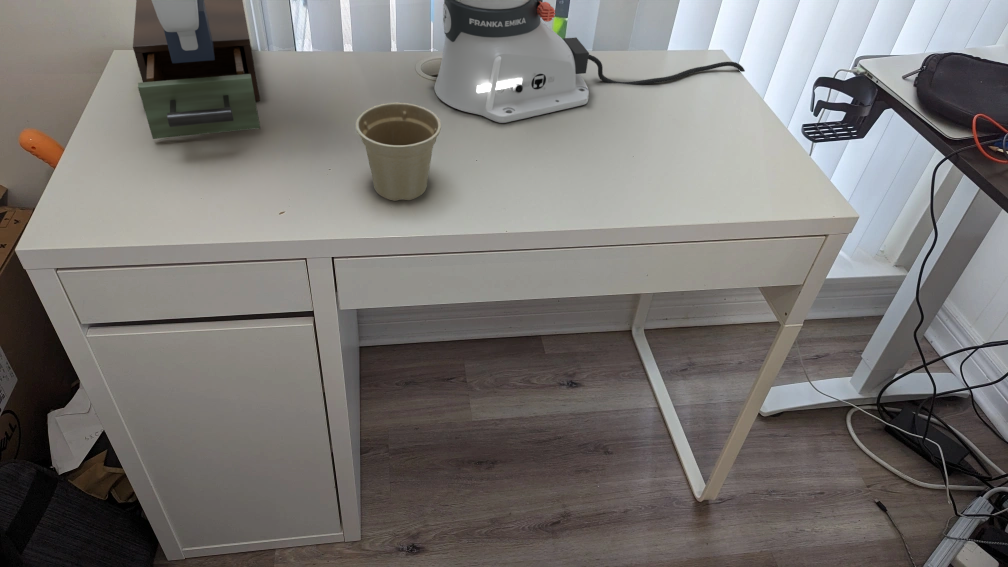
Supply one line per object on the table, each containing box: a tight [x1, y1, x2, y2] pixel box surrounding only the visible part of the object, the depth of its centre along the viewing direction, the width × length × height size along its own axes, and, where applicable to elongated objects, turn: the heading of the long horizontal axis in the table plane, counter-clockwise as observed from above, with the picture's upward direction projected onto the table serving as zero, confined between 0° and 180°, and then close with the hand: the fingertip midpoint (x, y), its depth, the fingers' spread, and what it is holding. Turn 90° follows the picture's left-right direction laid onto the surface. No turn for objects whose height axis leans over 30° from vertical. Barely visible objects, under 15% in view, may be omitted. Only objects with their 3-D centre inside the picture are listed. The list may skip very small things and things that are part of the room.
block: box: [164, 0, 215, 63], centre depth 86 cm, size 5×5×6 cm
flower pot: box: [355, 102, 442, 202], centre depth 83 cm, size 9×9×9 cm
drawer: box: [137, 46, 261, 140], centre depth 91 cm, size 20×13×7 cm, turn 19°
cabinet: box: [132, 0, 261, 102], centre depth 99 cm, size 16×14×9 cm
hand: (190, 36), depth 87 cm, fingers closed on block, 5 cm apart
